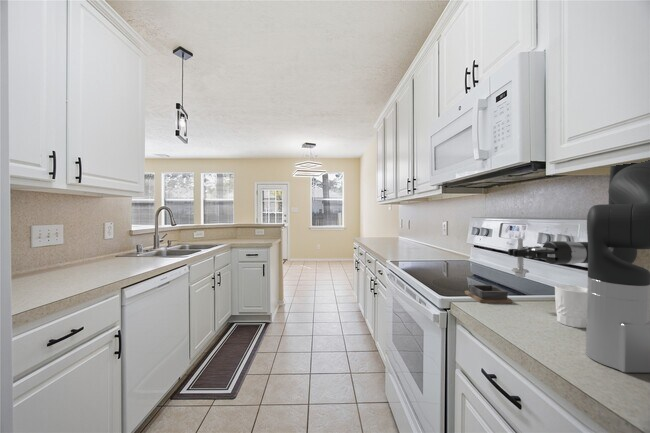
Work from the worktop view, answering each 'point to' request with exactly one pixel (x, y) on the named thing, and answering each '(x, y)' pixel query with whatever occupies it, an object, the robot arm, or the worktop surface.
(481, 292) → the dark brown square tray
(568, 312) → the white cup
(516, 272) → the screw
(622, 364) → the robot arm
